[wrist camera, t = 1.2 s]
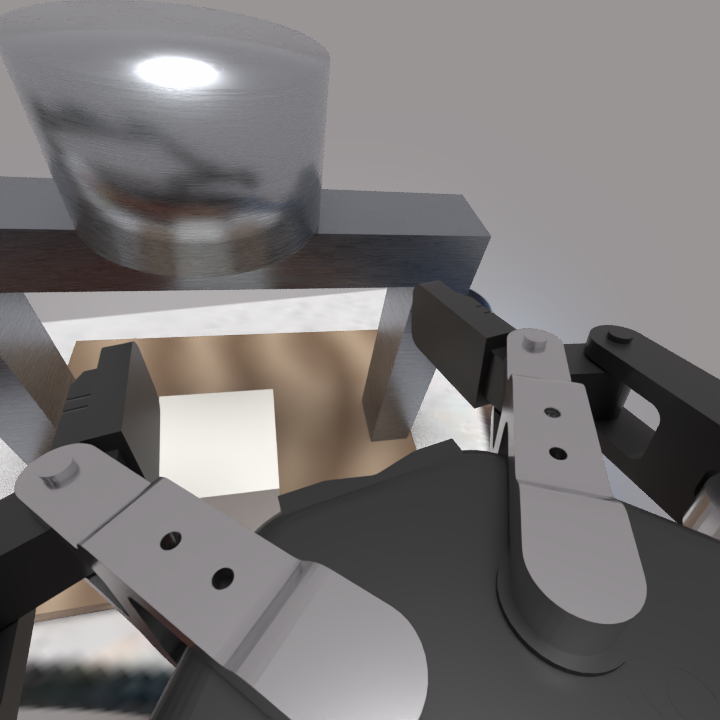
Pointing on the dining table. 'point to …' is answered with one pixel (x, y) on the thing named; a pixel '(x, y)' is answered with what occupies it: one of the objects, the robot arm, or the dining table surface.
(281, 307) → the dining table surface
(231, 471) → the plug
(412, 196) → the grey two-legged stand
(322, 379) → the track board
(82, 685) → the dining table surface
